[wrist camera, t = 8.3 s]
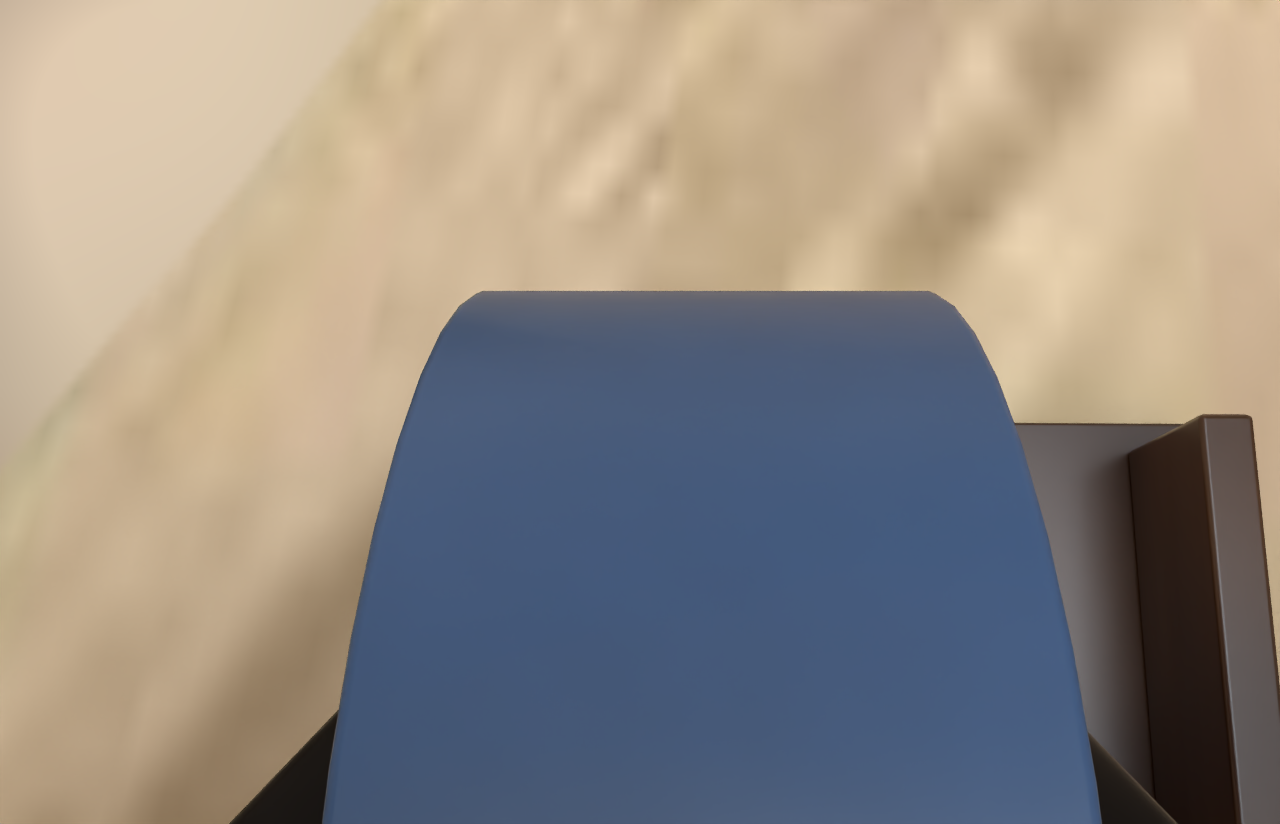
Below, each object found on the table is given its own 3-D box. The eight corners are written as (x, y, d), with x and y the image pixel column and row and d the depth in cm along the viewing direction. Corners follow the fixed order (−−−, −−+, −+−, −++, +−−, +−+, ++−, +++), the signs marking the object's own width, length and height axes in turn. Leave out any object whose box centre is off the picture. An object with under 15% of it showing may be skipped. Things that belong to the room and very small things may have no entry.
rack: (1248, 1170, 19) (1394, 1300, 15) (477, 1144, 19) (423, 1262, 15) (1182, 435, 21) (1293, 380, 17) (507, 431, 22) (467, 377, 18)
